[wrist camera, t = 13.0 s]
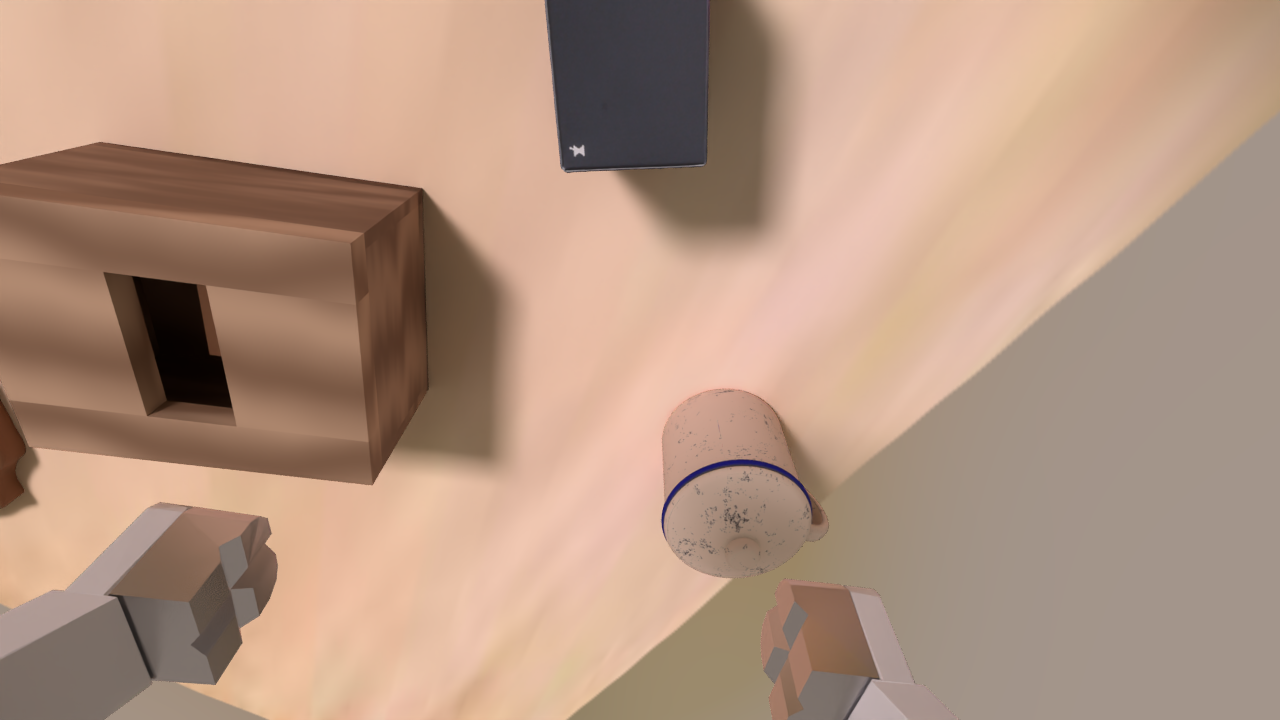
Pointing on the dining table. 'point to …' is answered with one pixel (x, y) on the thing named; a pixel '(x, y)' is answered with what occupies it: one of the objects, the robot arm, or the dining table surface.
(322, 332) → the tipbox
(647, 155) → the small box
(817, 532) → the teacup with lid
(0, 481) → the plant
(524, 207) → the dining table surface
